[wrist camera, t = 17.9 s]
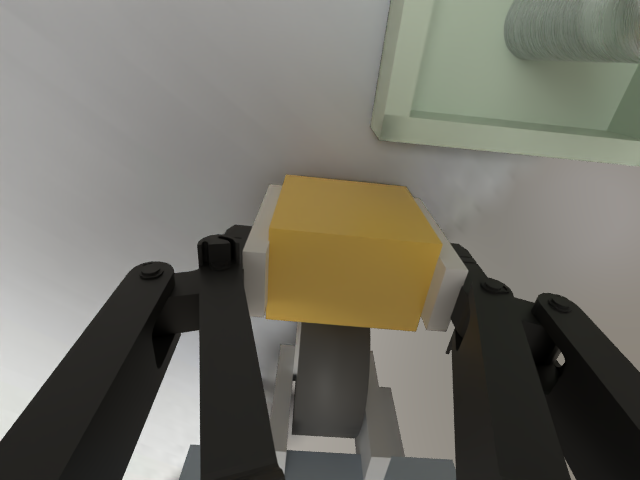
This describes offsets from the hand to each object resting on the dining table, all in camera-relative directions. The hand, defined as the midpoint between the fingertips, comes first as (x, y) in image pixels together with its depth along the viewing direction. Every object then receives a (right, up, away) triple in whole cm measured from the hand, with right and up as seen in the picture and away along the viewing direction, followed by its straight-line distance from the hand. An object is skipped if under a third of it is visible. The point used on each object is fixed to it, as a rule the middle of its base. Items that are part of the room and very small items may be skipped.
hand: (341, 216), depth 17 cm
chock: (0, 0, 0) cm, 0 cm away
